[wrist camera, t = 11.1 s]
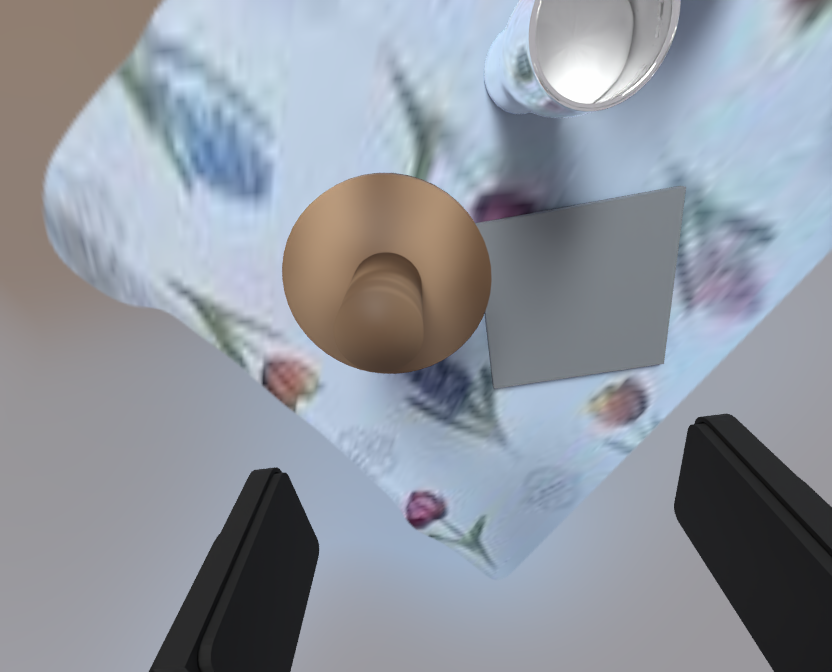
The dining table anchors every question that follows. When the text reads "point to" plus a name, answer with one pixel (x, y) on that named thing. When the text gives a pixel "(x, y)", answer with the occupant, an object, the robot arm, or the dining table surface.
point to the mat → (582, 287)
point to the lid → (387, 273)
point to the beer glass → (577, 54)
